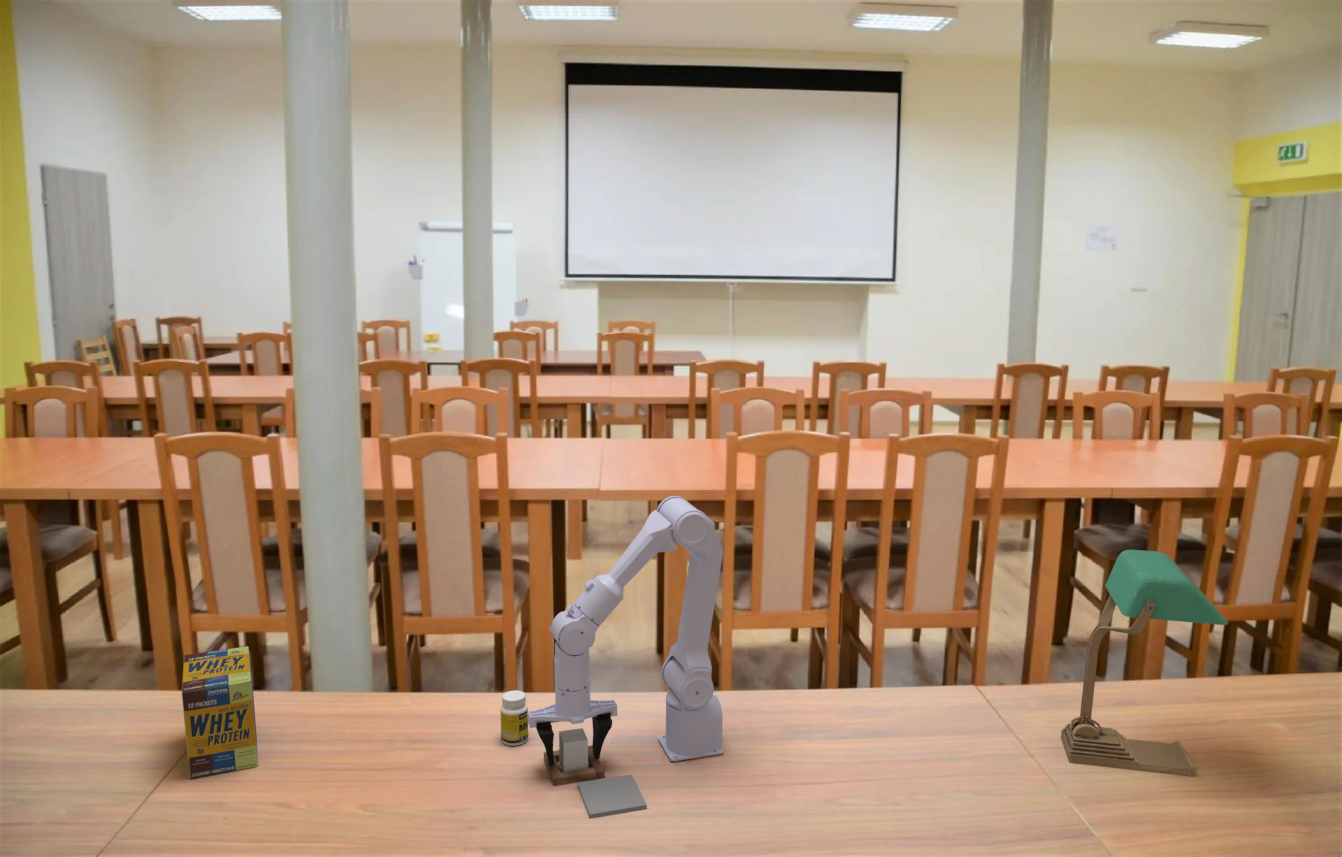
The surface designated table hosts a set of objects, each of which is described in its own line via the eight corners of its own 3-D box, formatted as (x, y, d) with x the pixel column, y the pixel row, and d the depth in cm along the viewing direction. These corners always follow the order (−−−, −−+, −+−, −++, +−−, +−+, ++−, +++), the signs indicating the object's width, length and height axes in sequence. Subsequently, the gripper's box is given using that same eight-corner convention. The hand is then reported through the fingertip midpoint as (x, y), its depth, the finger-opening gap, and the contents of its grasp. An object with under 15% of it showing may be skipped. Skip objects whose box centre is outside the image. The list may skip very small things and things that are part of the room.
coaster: (631, 777, 163) (631, 774, 163) (646, 808, 155) (646, 804, 155) (577, 786, 161) (577, 783, 161) (589, 818, 152) (589, 814, 152)
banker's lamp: (1057, 727, 181) (1075, 543, 174) (1181, 740, 177) (1205, 552, 170) (1073, 774, 166) (1093, 574, 159) (1209, 789, 162) (1236, 584, 154)
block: (582, 760, 169) (582, 727, 167) (588, 772, 165) (587, 739, 164) (559, 764, 167) (559, 731, 166) (564, 776, 164) (563, 743, 162)
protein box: (189, 780, 162) (180, 692, 158) (191, 736, 175) (183, 653, 172) (259, 767, 166) (252, 680, 163) (255, 724, 180) (249, 643, 176)
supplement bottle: (522, 748, 172) (521, 703, 171) (497, 745, 173) (495, 700, 171) (532, 734, 177) (531, 690, 175) (506, 731, 178) (505, 687, 176)
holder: (593, 751, 171) (593, 745, 171) (604, 777, 163) (604, 771, 163) (543, 758, 169) (543, 752, 169) (553, 785, 161) (553, 779, 161)
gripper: (532, 700, 157) (534, 778, 160) (621, 688, 161) (621, 765, 164) (525, 681, 164) (527, 756, 167) (611, 670, 168) (611, 743, 171)
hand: (573, 759), depth 166 cm, fingers open, 7 cm apart
